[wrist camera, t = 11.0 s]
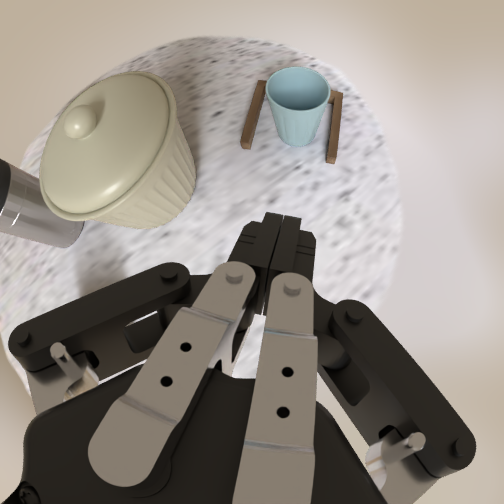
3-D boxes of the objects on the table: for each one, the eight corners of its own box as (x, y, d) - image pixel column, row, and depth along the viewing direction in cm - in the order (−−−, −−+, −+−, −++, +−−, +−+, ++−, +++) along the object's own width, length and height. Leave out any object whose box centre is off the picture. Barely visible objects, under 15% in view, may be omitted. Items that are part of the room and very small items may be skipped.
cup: (270, 111, 40) (265, 66, 30) (319, 111, 40) (326, 66, 29) (270, 153, 39) (266, 111, 29) (324, 153, 39) (334, 112, 28)
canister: (196, 119, 42) (145, 23, 21) (233, 218, 39) (178, 140, 18) (102, 166, 43) (20, 106, 22) (121, 265, 40) (11, 241, 19)
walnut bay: (242, 148, 40) (240, 141, 38) (259, 87, 41) (258, 80, 40) (334, 164, 38) (336, 158, 36) (341, 100, 40) (343, 92, 38)
